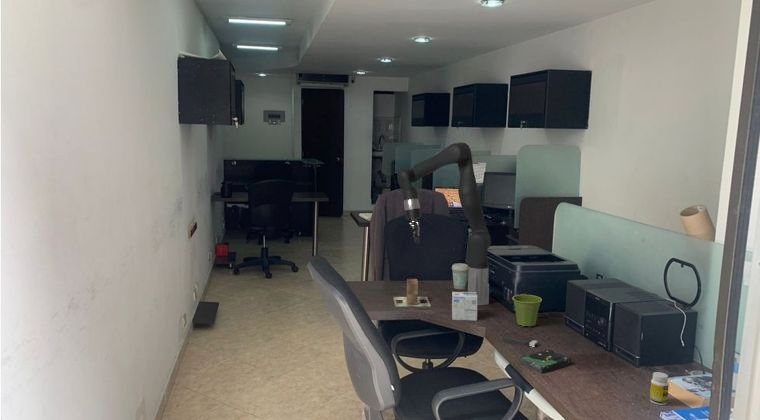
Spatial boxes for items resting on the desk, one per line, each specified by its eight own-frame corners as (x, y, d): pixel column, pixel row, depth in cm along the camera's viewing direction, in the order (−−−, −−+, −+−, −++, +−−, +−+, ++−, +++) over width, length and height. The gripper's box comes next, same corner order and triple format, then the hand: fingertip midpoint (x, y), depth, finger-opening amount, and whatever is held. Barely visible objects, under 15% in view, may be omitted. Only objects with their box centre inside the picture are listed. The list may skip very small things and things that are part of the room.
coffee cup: (449, 286, 298) (450, 263, 296) (465, 285, 299) (466, 262, 297) (453, 290, 289) (453, 267, 288) (470, 290, 290) (470, 266, 289)
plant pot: (517, 318, 246) (518, 292, 245) (544, 323, 239) (546, 297, 238) (506, 325, 237) (507, 299, 235) (534, 331, 230) (535, 304, 228)
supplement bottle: (664, 407, 167) (666, 379, 166) (647, 402, 170) (649, 374, 169) (669, 401, 170) (671, 374, 169) (652, 396, 173) (654, 369, 172)
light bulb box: (476, 316, 249) (477, 291, 248) (477, 321, 242) (478, 296, 241) (451, 315, 250) (452, 291, 249) (451, 320, 243) (452, 295, 242)
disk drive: (547, 356, 206) (518, 364, 198) (548, 348, 206) (518, 356, 198) (571, 366, 198) (542, 375, 189) (572, 358, 197) (542, 366, 189)
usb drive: (507, 338, 223) (508, 332, 222) (538, 345, 216) (538, 338, 216) (502, 342, 219) (502, 335, 218) (533, 349, 212) (533, 342, 211)
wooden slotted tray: (427, 299, 273) (427, 296, 272) (430, 309, 258) (430, 306, 257) (393, 299, 272) (393, 296, 272) (394, 309, 257) (394, 306, 257)
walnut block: (416, 302, 263) (416, 278, 262) (417, 305, 259) (417, 281, 257) (406, 302, 263) (407, 278, 262) (407, 305, 259) (407, 281, 257)
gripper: (417, 207, 276) (423, 242, 275) (421, 208, 289) (426, 242, 287) (402, 209, 277) (407, 245, 276) (407, 210, 290) (412, 244, 289)
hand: (417, 243), depth 282 cm, fingers closed
